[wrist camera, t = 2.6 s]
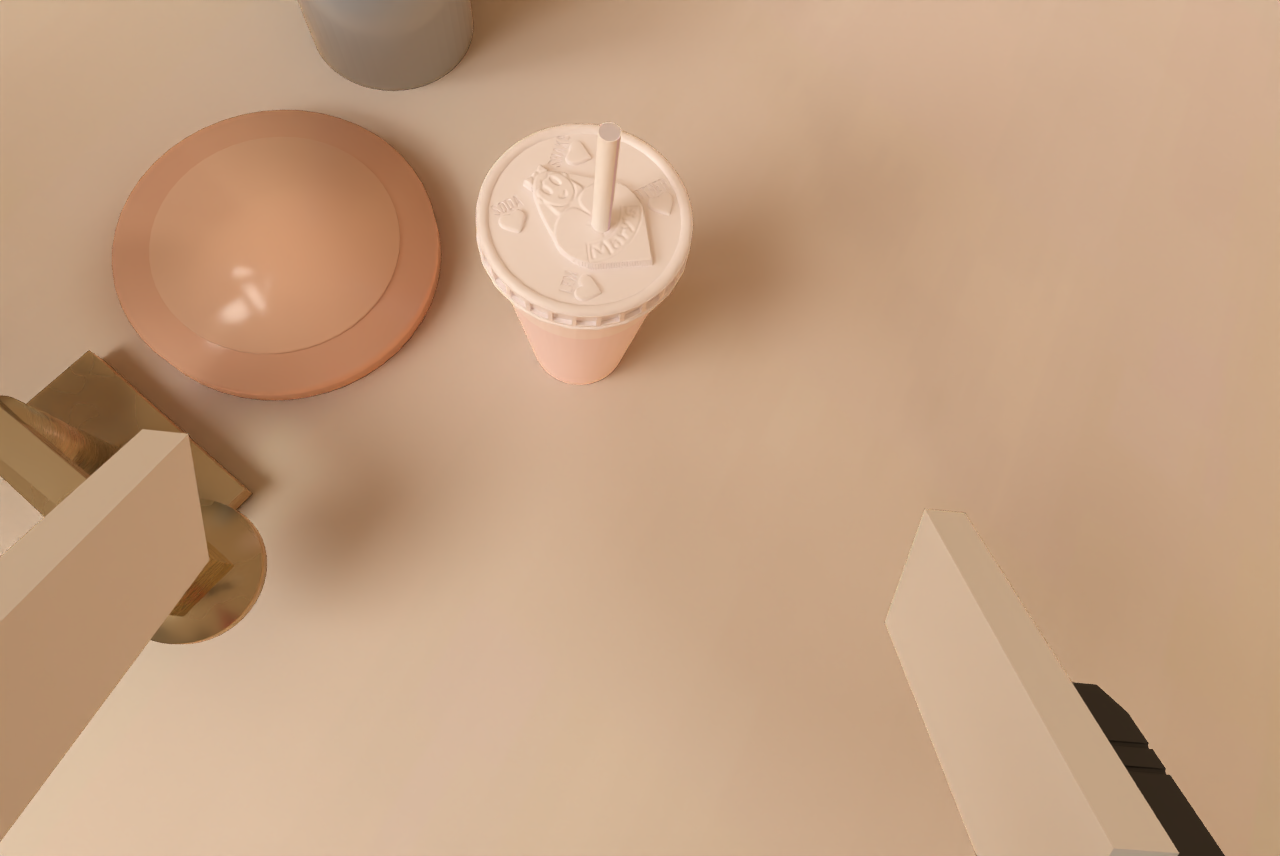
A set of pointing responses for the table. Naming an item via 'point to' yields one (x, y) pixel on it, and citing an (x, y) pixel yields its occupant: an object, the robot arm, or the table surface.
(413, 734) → the table surface
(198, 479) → the balance
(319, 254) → the dish
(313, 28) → the grey domed cylinder
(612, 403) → the table surface
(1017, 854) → the robot arm
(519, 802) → the table surface
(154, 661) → the table surface
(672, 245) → the smoothie
